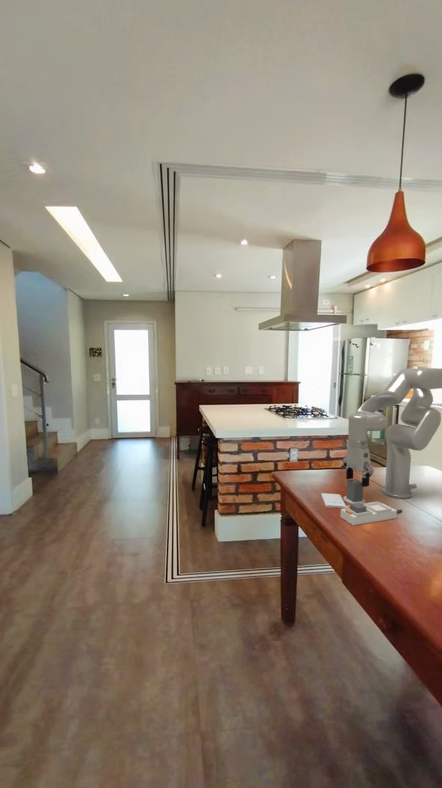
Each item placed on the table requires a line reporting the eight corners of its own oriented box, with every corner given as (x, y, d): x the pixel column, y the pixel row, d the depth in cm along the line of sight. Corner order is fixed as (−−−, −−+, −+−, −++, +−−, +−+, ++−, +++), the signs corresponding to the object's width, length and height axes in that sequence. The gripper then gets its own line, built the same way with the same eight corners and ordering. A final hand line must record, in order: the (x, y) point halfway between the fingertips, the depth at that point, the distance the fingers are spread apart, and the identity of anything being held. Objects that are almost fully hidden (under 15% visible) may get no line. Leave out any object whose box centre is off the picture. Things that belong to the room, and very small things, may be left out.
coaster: (355, 495, 150) (355, 494, 150) (370, 503, 142) (370, 502, 142) (338, 497, 147) (338, 496, 147) (352, 505, 139) (352, 505, 139)
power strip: (394, 508, 137) (394, 495, 136) (408, 516, 130) (409, 502, 130) (340, 516, 129) (341, 503, 128) (352, 525, 122) (353, 511, 122)
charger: (355, 496, 147) (355, 478, 147) (362, 500, 143) (363, 482, 142) (346, 498, 146) (347, 479, 145) (353, 502, 142) (354, 483, 141)
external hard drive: (340, 497, 149) (346, 510, 136) (321, 496, 150) (325, 508, 138) (340, 494, 149) (346, 506, 136) (321, 493, 150) (325, 504, 137)
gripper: (380, 447, 135) (379, 488, 137) (351, 438, 152) (351, 474, 154) (365, 449, 133) (364, 491, 135) (337, 439, 149) (337, 477, 151)
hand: (357, 482), depth 144 cm, fingers open, 9 cm apart
